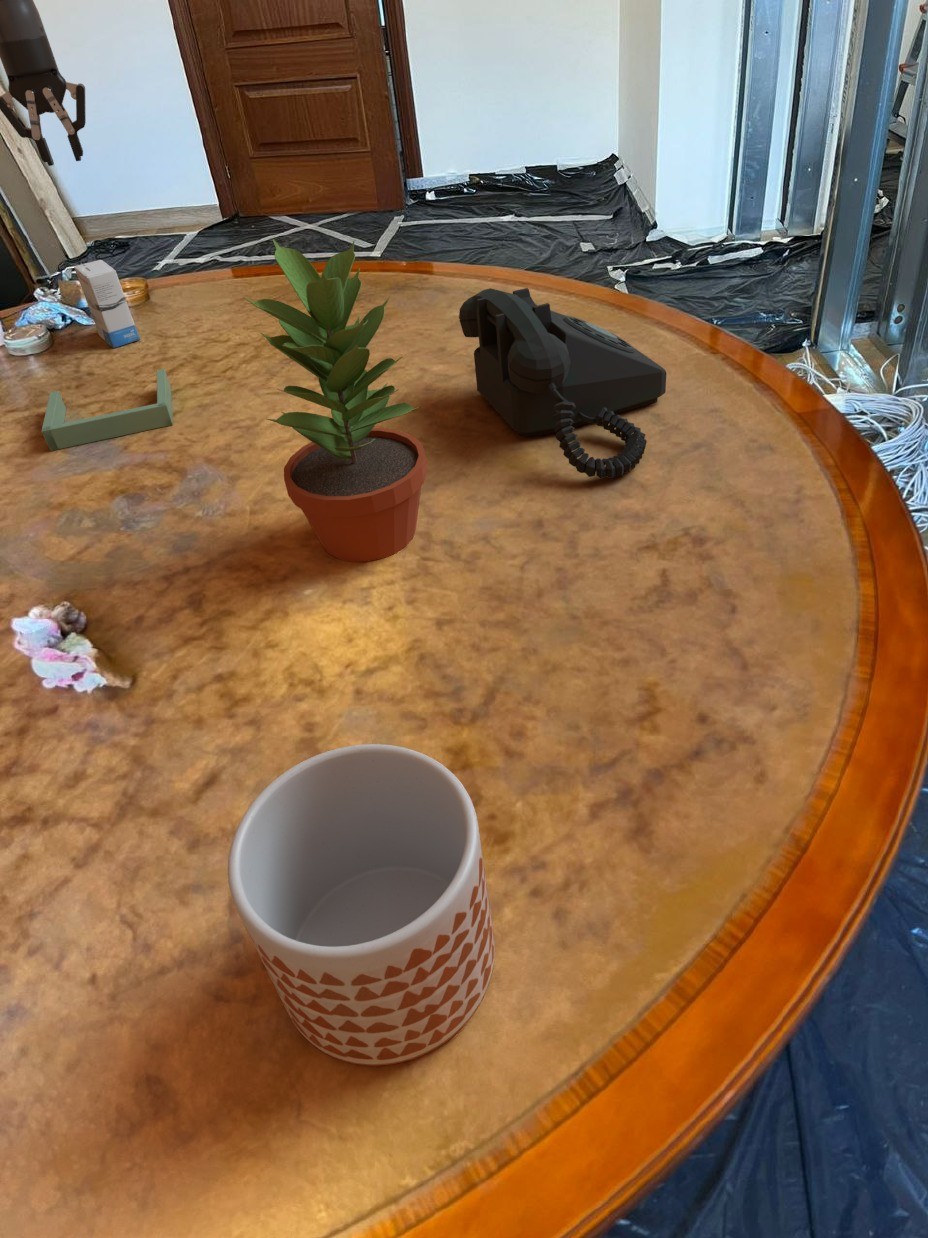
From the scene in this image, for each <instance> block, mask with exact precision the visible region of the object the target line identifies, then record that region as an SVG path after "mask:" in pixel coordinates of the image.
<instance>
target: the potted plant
mask: <svg viewBox="0 0 928 1238" xmlns="http://www.w3.org/2000/svg"><path fill="white" fill-rule="evenodd" d="M271 240H272V242H273V245H274V248H275V251H274V253H273V254H274V259H275V261H276V263H277V265H278V266H279V267H280V269H281V271H282V272H283V274H284V276H285V277H286V279H287V280H288V282H289V283H290V285H291V287H292V288H293V290H294V292H295V293H296V295H297V296H298V298H299V300H300V302H301V303H302V305H303V306H304V308H305V309H306V311H307V313H308V314H307V313H305V312H303V311H301V310H299V309H298V308H296V307H295V306H291V305H290V304H288V303H284V302H282V301H279V300H275V299H271V298H262V299H259V300H255V301H254V300H251V299H248V298H247V297H243V299H244V300H246V301H247V302H249V303H250V304H252V305H253V306H255V307H256V308H258V309H259V310H261V311H263V312H265V313H267V314H269V315H270V316H271V317H274V318H276V319H278V323H279V325H280V327H281V328H282V329H283V330H284V331H285V333H286V334H287V335H286V334H281V335H276V336H271V337H270V336H268V335H267V334H265V333H262V332H259V334H261V335H262V336H263V337H264V338H265V339H266V340H267V341H268V343H269V345H271V346H272V347H274V348H275V349H277V350H278V351H280V353H282V354H283V355H285V356H286V357H288V358H289V359H291V360H292V361H294V362H295V363H296V364H297V365H299V366H301V367H302V368H304V369H305V370H307V371H308V372H309V373H311V374H312V375H314V376H315V377H317V379H318V383H319V386H320V390H321V392H322V393H320V392H317V391H314V390H312V389H309V388H306V387H302V386H298V385H287V386H285V387H284V388H283V390H282V389H279V388H276V390H278V391H280V392H282V393H286V394H289V395H291V396H294V397H297V398H299V399H302V400H304V401H308V402H311V403H313V404H316V405H319V406H321V407H324V408H326V409H329V410H330V413H331V416H332V417H329V416H326V415H322V414H317V413H312V412H307V411H306V412H305V411H290V412H289V411H288V412H283V411H281V413H282V414H281V415H280V416H279V417H278V418H277V419H275V418H274V419H273V418H266V420H268V421H271V422H274V423H276V424H279V425H281V426H285V427H290V428H292V429H293V430H295V432H297V433H298V434H300V435H301V436H303V437H304V438H306V439H307V440H309V441H310V442H309V443H307V444H305V445H303V446H301V447H300V448H299V449H298V450H297V451H295V453H293V454H292V455H291V456H290V457H289V459H288V460H287V462H286V464H285V466H284V467H283V481H284V484H285V488H286V492H287V495H288V497H289V499H290V501H291V502H292V503H293V504H294V505H295V506H296V507H297V508H299V509H300V510H301V512H302V513H303V515H304V517H305V518H306V520H307V521H308V523H309V524H310V527H311V528H312V530H313V531H314V533H315V535H316V536H317V538H318V540H319V542H320V544H321V545H322V547H323V548H324V550H325V551H326V552H327V554H328V555H331V556H332V557H334V558H336V559H338V560H341V561H346V562H350V563H352V562H353V563H354V562H355V563H366V562H367V563H368V562H372V561H377V560H378V561H379V560H381V559H384V558H387V557H390V556H393V555H395V554H397V553H398V552H400V551H402V550H403V549H404V548H406V547H407V546H408V545H409V544H410V543H411V541H413V539H414V536H415V534H416V529H417V523H418V516H419V509H420V508H419V507H420V501H421V494H422V488H423V487H422V486H423V485H424V484H425V481H426V478H427V476H428V473H429V471H428V464H427V456H426V452H425V449H424V445H423V443H422V442H420V440H418V439H417V438H416V437H415V436H414V435H412V434H409V433H406V432H404V431H401V430H399V429H393V428H387V427H386V428H385V427H375V426H376V425H377V424H380V423H383V422H386V421H389V420H392V419H394V418H399V417H402V416H403V415H407V414H408V413H410V412H413V411H415V410H417V409H420V408H421V406H417V407H413V406H412V405H411V404H410V403H408V402H400V403H395V404H391V405H389V406H388V403H389V401H390V399H391V395H393V394H395V393H396V392H397V391H399V390H400V389H398V388H397V389H396V386H394V385H393V384H391V385H388V381H387V382H386V383H385V384H384V385H383V386H382V387H381V388H377V389H371V390H369V386H370V385H372V384H373V383H374V382H375V381H376V380H377V379H378V378H380V377H381V376H382V375H384V374H385V373H386V372H387V371H388V370H389V369H391V368H392V367H393V366H394V365H395V364H396V363H397V362H399V361H400V360H401V359H402V358H403V356H400V357H399V358H397V360H395V359H394V358H391V357H390V358H385V359H383V360H381V361H379V362H378V363H377V364H376V365H374V366H373V367H372V368H370V369H369V370H366V369H367V368H366V367H367V365H368V363H369V358H370V355H371V352H370V349H369V348H367V347H368V345H369V344H370V342H371V341H372V339H373V338H374V337H375V335H376V333H377V331H378V330H379V328H380V326H381V324H382V323H383V320H384V318H385V312H386V305H387V304H388V302H389V300H390V299H391V296H389V297H388V298H387V299H386V300H385V301H384V302H383V304H381V305H377V306H374V307H373V308H372V309H370V310H369V311H368V312H367V314H366V315H365V316H364V317H363V318H362V319H361V320H360V315H358V316H357V319H356V320H355V322H354V323H353V324H350V325H348V322H349V320H350V317H351V315H352V311H353V310H354V306H355V304H356V301H357V299H358V296H359V293H360V291H361V288H362V281H361V279H360V271H361V268H360V267H359V269H358V270H357V272H356V273H355V274H354V276H353V277H350V274H351V271H352V267H353V265H354V262H355V259H356V253H355V251H354V250H355V249H354V248H355V242H356V241H355V239H354V240H353V242H352V243H351V245H350V247H349V249H348V250H344V251H340V252H338V253H336V254H334V255H332V256H331V257H330V258H329V259H328V261H327V263H326V264H325V266H324V269H323V272H321V276H320V274H319V273H318V271H317V269H316V268H315V266H314V265H313V264H312V263H311V261H310V260H309V259H308V258H307V257H306V256H305V255H304V254H303V253H302V252H301V251H299V250H297V249H295V248H291V247H283V246H281V245H279V244H278V242H277V241H276V240H275V239H274V238H273V237H271Z"/></svg>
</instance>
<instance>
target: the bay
mask: <svg viewBox="0 0 928 1238" xmlns="http://www.w3.org/2000/svg"><path fill="white" fill-rule="evenodd" d="M156 400H157V401H156V403H153V404H147V405H144V406H138V407H134V408H129V409H124V410H119V411H114V412H109V413H106V414H101V415H96V416H91V417H85V418H81V419H77V420H71V421H67V422H65V418H66V414H67V407H66V405H65V402H64V401H63V398H62V396H61V393H60V390H54V391H50V392H49V394H48V400H47V403H46V409H45V413H44V417H43V423H42V427H41V431H40V432H41V433H42V436H43V438H44V440H45V442H46V445H47V447H48V450H49V451H50V452H53V451H58V450H62V449H67V448H72V447H76V446H81V445H87V444H90V443H94V442H99V441H104V440H109V439H114V438H118V437H123V436H127V435H132V434H136V433H140V432H146V431H149V430H150V431H151V430H155V429H160V428H164V427H170V426H173V425H174V419H173V418H174V417H173V416H174V415H173V397H172V386H171V383H170V380H169V377H168V374H167V371H166V369H165V368H162V369H161V368H160V369H157V370H156Z"/></svg>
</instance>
